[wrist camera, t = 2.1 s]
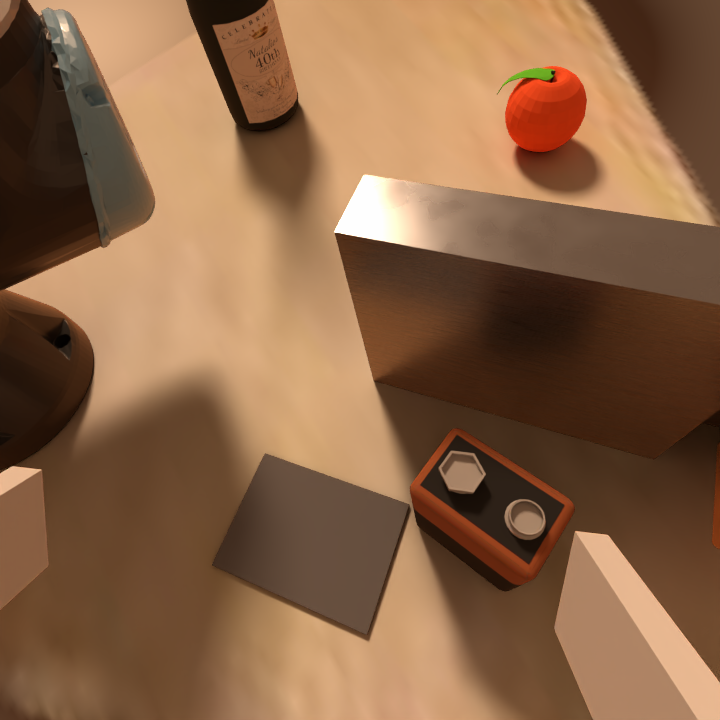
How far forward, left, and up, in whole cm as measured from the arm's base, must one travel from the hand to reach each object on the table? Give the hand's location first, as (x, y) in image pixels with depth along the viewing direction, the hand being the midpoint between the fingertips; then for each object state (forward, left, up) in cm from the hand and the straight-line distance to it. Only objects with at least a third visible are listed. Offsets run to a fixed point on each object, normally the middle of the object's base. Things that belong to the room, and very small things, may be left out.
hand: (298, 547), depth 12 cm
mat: (-6, +2, -20) cm, 21 cm away
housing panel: (+7, +16, -20) cm, 27 cm away
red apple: (0, +43, -21) cm, 47 cm away
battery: (+4, +6, -21) cm, 22 cm away
